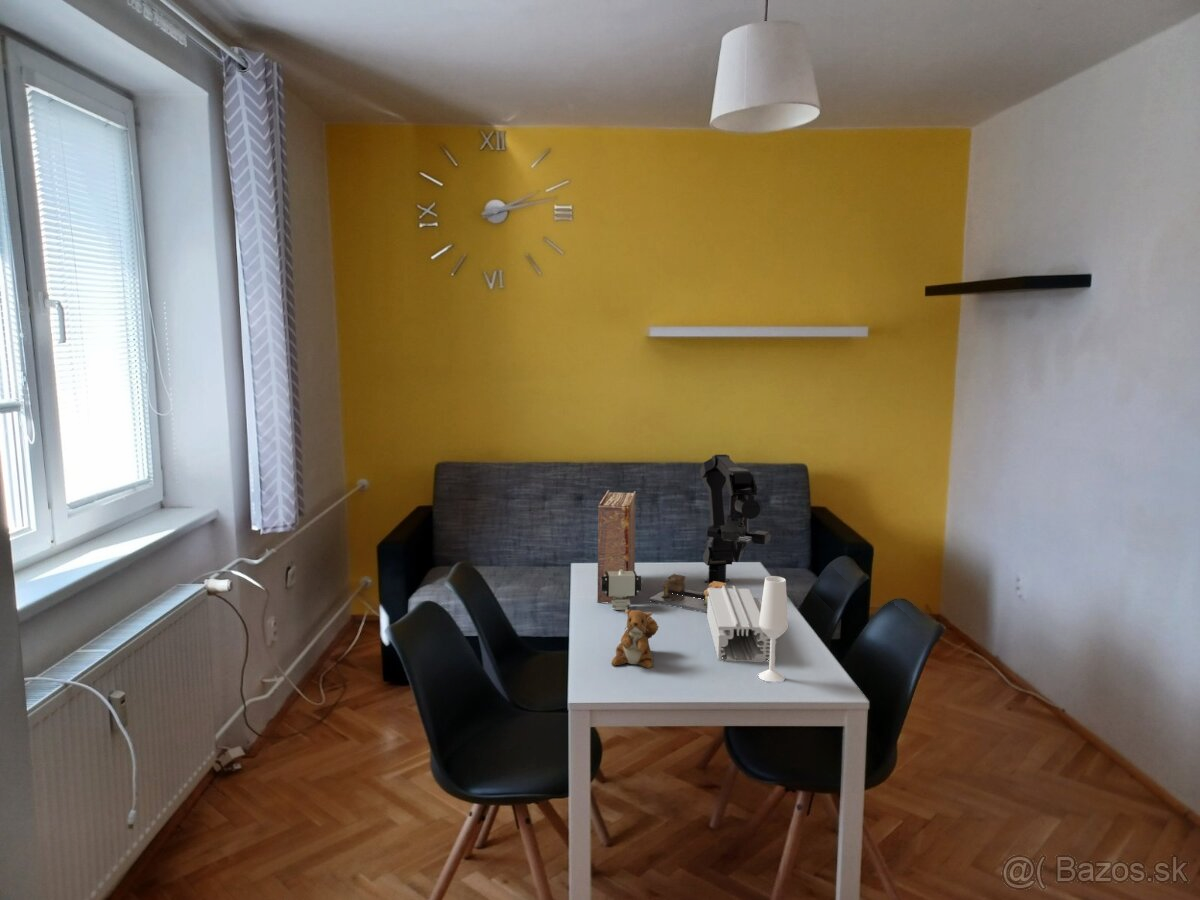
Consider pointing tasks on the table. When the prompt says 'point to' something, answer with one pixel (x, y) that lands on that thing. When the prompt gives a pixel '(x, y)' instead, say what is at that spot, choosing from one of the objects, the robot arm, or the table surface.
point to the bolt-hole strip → (680, 601)
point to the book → (616, 536)
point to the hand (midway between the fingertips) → (737, 561)
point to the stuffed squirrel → (636, 640)
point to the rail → (689, 593)
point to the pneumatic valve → (620, 587)
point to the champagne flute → (773, 619)
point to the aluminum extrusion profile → (736, 625)
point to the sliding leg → (713, 585)
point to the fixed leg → (674, 583)
